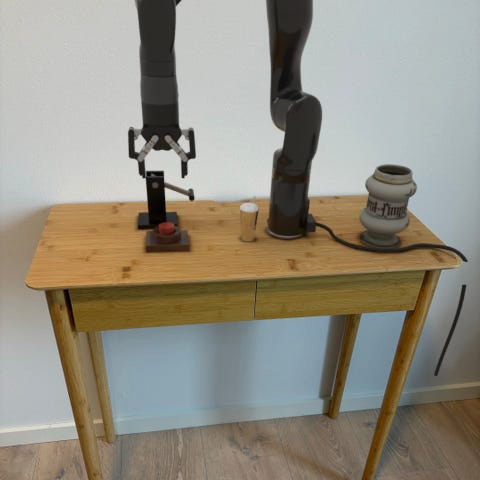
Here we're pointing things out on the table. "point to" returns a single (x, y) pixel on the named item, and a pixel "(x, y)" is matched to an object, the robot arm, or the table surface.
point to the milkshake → (248, 220)
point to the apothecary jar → (387, 205)
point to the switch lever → (179, 190)
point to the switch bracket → (155, 203)
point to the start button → (166, 228)
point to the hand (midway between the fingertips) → (163, 177)
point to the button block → (167, 241)
